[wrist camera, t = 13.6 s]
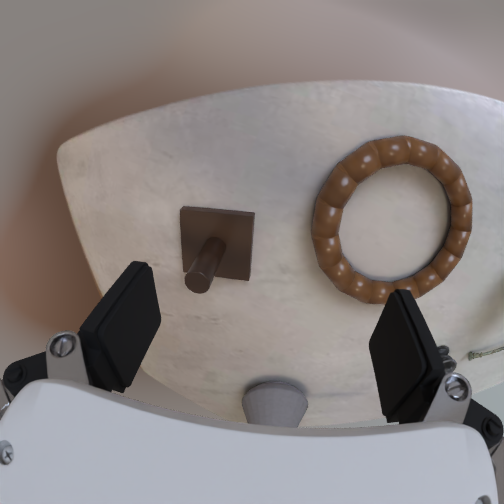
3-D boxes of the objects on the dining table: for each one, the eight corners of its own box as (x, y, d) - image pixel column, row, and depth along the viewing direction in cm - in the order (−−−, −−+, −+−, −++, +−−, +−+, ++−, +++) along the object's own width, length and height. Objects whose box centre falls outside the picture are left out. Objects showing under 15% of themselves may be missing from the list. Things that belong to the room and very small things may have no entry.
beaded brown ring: (325, 118, 24) (329, 118, 21) (479, 161, 22) (493, 167, 20) (299, 287, 33) (299, 301, 31) (433, 299, 32) (440, 312, 29)
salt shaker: (422, 371, 39) (438, 425, 29) (419, 354, 37) (438, 413, 26) (450, 357, 37) (470, 410, 27) (449, 339, 35) (473, 395, 24)
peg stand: (183, 206, 30) (151, 238, 23) (255, 212, 29) (243, 248, 22) (186, 267, 34) (161, 309, 27) (250, 275, 33) (239, 322, 26)
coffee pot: (247, 405, 48) (235, 472, 35) (240, 373, 43) (224, 453, 30) (355, 404, 45) (360, 471, 32) (368, 371, 40) (380, 450, 27)
